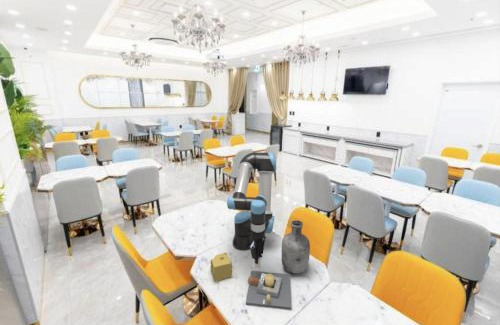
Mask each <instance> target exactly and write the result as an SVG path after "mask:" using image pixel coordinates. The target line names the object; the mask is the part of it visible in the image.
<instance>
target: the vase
mask: <svg viewBox="0 0 500 325" xmlns="http://www.w3.org/2000/svg"><path fill="white" fill-rule="evenodd" d="M290 226H291V232H289V233H286V234H285V235H284V236H283V238H282V241H281V263H282V266H283V268H284V269H285V270H286V271H288V272H289V273H294V274H300V273H303V272H305V271H306V270H307V269H308V266H309V263H310V254H311V252H310V251H311V250H310V249H311V244H310V240H309V238H308V236H306V235H305V234H304V233H302V228H303V226H304V223H303V222H302V221H301V220H298V219H297V220H296V219H295V220H292V221H291V222H290Z"/></svg>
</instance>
